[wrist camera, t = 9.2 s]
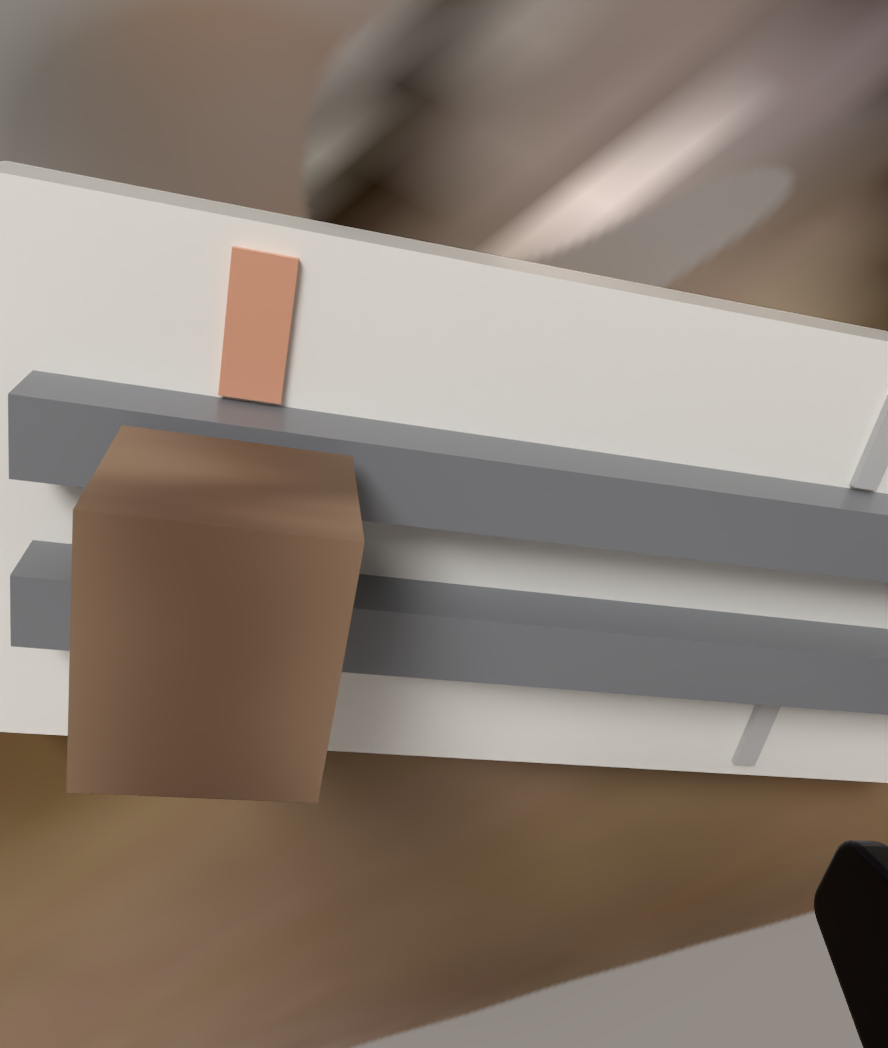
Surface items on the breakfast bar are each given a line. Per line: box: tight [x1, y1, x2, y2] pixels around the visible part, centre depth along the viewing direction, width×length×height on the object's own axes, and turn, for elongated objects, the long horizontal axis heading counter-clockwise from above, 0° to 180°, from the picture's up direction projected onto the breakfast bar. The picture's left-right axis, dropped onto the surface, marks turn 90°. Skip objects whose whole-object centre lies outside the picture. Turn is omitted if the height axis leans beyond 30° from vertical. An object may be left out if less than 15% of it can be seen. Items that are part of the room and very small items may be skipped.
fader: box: [66, 425, 365, 803], centre depth 15 cm, size 4×5×5 cm
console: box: [0, 161, 888, 783], centre depth 20 cm, size 24×12×4 cm, turn 79°
